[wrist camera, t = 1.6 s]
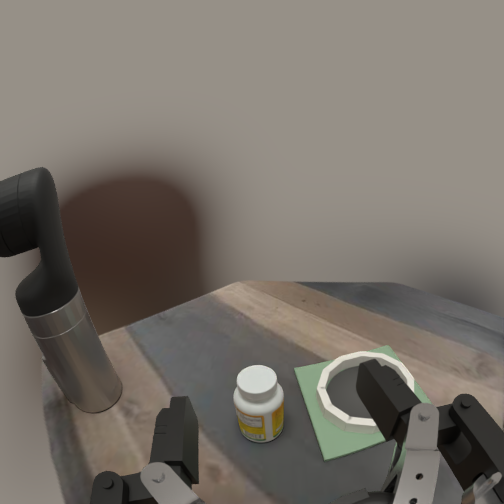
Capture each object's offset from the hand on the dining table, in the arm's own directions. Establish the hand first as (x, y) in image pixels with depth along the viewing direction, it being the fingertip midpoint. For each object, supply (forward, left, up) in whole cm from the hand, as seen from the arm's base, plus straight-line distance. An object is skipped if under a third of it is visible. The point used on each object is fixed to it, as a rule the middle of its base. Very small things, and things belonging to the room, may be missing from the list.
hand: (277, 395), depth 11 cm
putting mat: (+13, +12, -20) cm, 27 cm away
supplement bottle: (-1, +11, -20) cm, 23 cm away
